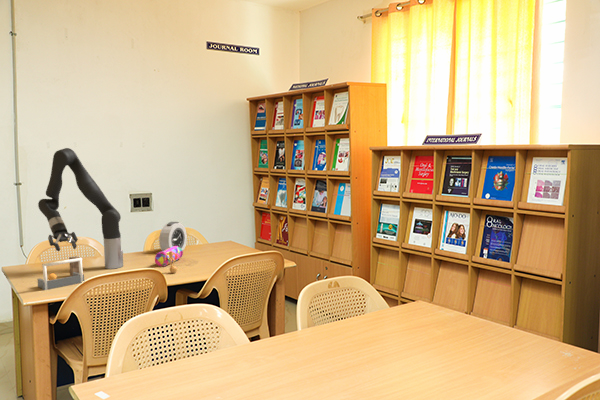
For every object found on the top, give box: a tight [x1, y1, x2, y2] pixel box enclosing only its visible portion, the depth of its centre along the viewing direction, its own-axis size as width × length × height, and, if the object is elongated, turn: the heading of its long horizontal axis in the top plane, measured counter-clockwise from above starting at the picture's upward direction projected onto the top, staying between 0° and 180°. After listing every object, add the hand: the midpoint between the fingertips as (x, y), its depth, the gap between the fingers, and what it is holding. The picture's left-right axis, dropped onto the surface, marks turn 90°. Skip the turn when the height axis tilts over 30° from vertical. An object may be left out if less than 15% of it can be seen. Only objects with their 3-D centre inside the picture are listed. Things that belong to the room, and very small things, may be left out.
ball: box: [47, 273, 58, 281], centre depth 256 cm, size 4×4×4 cm
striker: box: [68, 255, 81, 277], centre depth 267 cm, size 4×4×10 cm
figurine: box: [165, 251, 179, 274], centre depth 271 cm, size 8×6×12 cm
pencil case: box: [154, 246, 184, 267], centre depth 296 cm, size 22×9×9 cm, turn 170°
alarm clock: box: [158, 221, 188, 252], centre depth 332 cm, size 21×8×20 cm, turn 160°
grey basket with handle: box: [37, 257, 85, 291], centre depth 248 cm, size 20×9×13 cm, turn 137°
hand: (67, 249), depth 273 cm, fingers open, 8 cm apart
